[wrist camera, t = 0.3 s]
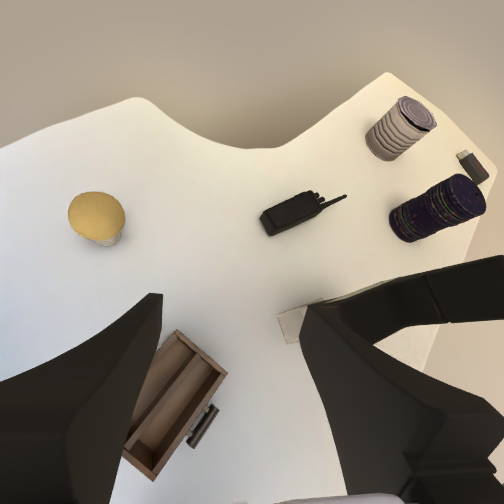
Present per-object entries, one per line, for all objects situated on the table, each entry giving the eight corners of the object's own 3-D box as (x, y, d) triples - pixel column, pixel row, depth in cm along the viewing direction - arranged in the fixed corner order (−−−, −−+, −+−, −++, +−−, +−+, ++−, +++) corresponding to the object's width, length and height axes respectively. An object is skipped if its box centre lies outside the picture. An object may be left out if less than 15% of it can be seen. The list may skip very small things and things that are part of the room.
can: (368, 156, 67) (406, 121, 57) (362, 124, 71) (397, 86, 61) (399, 165, 71) (441, 134, 60) (392, 135, 75) (430, 101, 64)
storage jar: (396, 243, 60) (463, 215, 46) (383, 207, 62) (443, 171, 49) (424, 242, 63) (493, 216, 50) (411, 208, 66) (473, 174, 53)
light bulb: (85, 217, 38) (61, 180, 29) (130, 217, 41) (121, 183, 32) (83, 256, 37) (58, 229, 28) (131, 254, 39) (121, 228, 30)
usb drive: (476, 185, 82) (486, 180, 79) (454, 156, 83) (463, 150, 81) (482, 180, 84) (492, 176, 81) (461, 152, 85) (470, 147, 83)
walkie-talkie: (255, 204, 47) (332, 174, 54) (260, 232, 51) (331, 200, 58) (274, 214, 43) (354, 180, 49) (277, 244, 46) (352, 208, 53)
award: (332, 293, 49) (537, 237, 22) (343, 319, 48) (572, 292, 21) (266, 318, 43) (440, 280, 16) (277, 348, 42) (482, 362, 15)
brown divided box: (232, 380, 38) (243, 386, 32) (170, 472, 32) (172, 498, 26) (174, 330, 37) (176, 328, 32) (101, 414, 31) (88, 429, 26)
